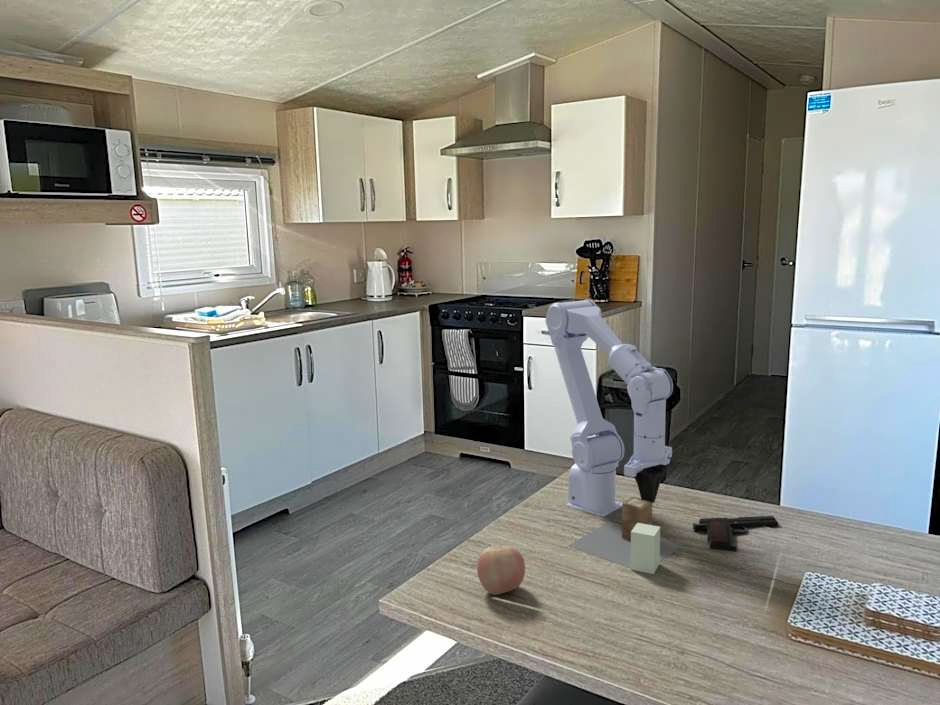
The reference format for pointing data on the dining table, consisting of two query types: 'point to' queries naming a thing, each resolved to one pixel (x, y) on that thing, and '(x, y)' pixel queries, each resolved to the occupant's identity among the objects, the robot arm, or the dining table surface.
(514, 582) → the apple
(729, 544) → the handgun
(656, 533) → the sage block
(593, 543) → the mat
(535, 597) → the dining table surface
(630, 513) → the walnut block
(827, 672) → the dining table surface
